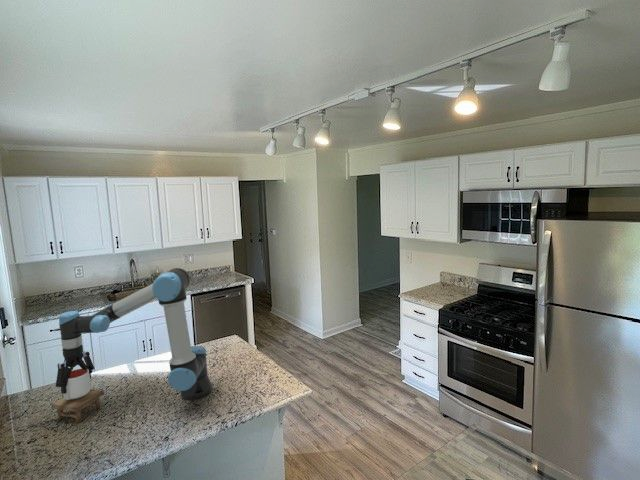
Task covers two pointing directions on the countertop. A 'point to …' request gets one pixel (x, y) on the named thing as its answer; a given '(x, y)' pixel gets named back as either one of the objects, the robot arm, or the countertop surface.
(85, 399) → the stool
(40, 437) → the countertop surface
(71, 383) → the cup
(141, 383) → the countertop surface
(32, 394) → the countertop surface
